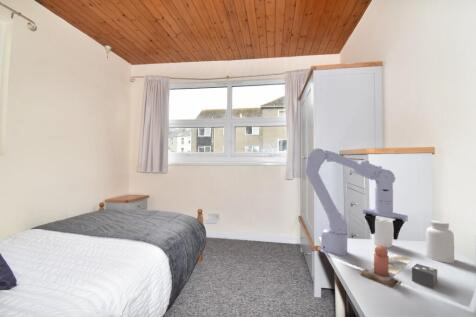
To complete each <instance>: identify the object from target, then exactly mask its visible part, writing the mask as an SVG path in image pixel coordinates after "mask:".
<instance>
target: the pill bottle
mask: <svg viewBox="0 0 476 317" xmlns="http://www.w3.org/2000/svg"><path fill="white" fill-rule="evenodd" d="M429 222H430V223H429V224H430V226H429V227H427V228H426V230H425V242H426V243H425V245H426V246H425V247H426V253H425V254H426V255H425V256H426V257H427V258H429V259H431V260H434V261H437V262H441V263H448V264H453V263H455V235H454V232H453V231H452V230H450V229H449V228H450V227H449V225H450V224H449V222H448V221H447V222H446V221H444V220H443V221H442V220H434V219H432V220H430V221H429Z"/></svg>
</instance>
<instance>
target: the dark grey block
mask: <svg viewBox="0 0 476 317" xmlns="http://www.w3.org/2000/svg"><path fill="white" fill-rule="evenodd" d="M411 281H412V282H414V283H418V284H420V285H422V286H425V287H428V288H431V289H434V288H435V287H436V285H437V284H438V269H436V268H433V267H430V266H426V265H423V264H420V263H416V264H415V265H413V266H412V268H411Z"/></svg>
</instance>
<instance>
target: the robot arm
mask: <svg viewBox="0 0 476 317" xmlns="http://www.w3.org/2000/svg"><path fill="white" fill-rule="evenodd" d="M325 161H326V163H331V162H334V163H336V164H339V165H342V166H345V167H347V168H351V169H353V170H354V173H355V174H356V175H359V176H361V177H364V178H366V179H368V180H370V181H374V182H375V189H374V191H375V192H374V196H375V197H374V200H375V201H374V204H375V206H374V208H375V209H371V208H363V209H362V214H363V215H364V219H365V220H366V223H367V225H368V228H369V230H370V231H369V232H370V234H371V235H372V234H374V233H375V219H376V218H377V217H379V218H386V219H390V220H393V228H394V234H393V240H395V241H396V240H398V238H399V234H400V232H401V229H402V227H403V225H404V224H405V222H408V220H409V218H408V217H409V216H408V215H407V214H401V213H397V212H394V188H393V186H394V185H393V184H394V183H395V182H396V177H395V174H394V173H393V172H392V171H391V170H389V169H385V168H383V167H382V166H381V165H378V166H377V165H375V164H373V163H370V161H369V160H367V159H366V160H359V161H355V160H353V159H351V158H348V157H346V156H344V155H341V154H339V153H336V152H333V151H331V150H330V151H329V150H325V149H324V150H323V149H322V148H319V147H317V148H314V149H312V150H311V151H310V153H309V155H308V156H307V161H306V162H307V163H306V169H305V174H306V176H307V178H308V180H309V182H310V184H311V186H312V188H313V190H314V192H315V193H316V196H317V197H318V200H319V202H320V203H321V205H322V207H323V210H324V211H325V214H326V217H327V219H328V221H329V228H325V229H323V231H322V232H321V240H320V241H321V243H320V244H321V246H320V252H321V253H324V254H327V253H328V252H329V253H332V254H334V255H338V256H345V255H347V254H348V231H347V229H348V224H347V222H346V218H345V216H344V215H343V214H341V213H340V211H339V210H338V208H337V206H336V204H335V203H334V200H333V198H332V197H331V194H330V193H329V191H328V189H327V187H326V184H325V183H324V181H323V180H322V178H321V176H320V174H319V173H320V172H319V171H320V168H321V166H322V165H323V164H324V162H325Z"/></svg>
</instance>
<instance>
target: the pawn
mask: <svg viewBox="0 0 476 317" xmlns="http://www.w3.org/2000/svg"><path fill="white" fill-rule="evenodd" d="M388 253H389V251H388V248H387V247H384V246H377V245H376V247H375V248H374V253H373V268H374V273H375V274H377V275H379V276H383V277H387V276H389V257H390V256H389V255H388Z"/></svg>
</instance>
